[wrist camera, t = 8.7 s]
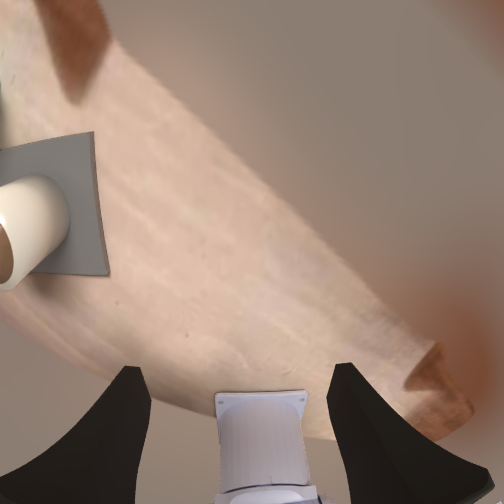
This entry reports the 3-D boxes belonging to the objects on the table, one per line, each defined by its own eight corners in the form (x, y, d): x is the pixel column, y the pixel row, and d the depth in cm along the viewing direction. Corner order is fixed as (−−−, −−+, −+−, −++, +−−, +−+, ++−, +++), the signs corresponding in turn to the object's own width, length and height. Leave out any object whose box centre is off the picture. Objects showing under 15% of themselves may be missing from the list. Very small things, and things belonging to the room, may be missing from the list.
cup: (78, 246, 17) (33, 292, 12) (23, 252, 17) (-23, 292, 12) (61, 166, 15) (3, 190, 10) (6, 181, 15) (-50, 207, 10)
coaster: (110, 270, 18) (107, 275, 18) (15, 267, 18) (11, 271, 17) (93, 131, 15) (89, 132, 14) (-7, 152, 14) (-13, 153, 14)
